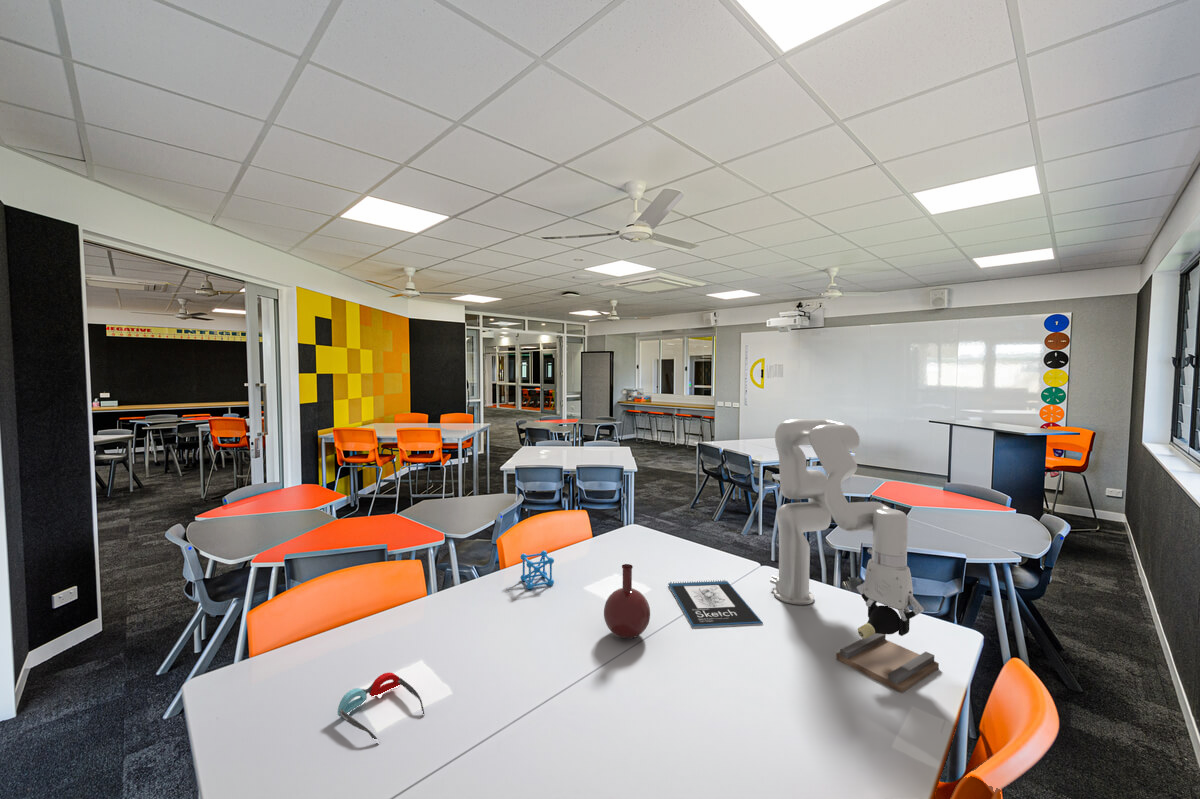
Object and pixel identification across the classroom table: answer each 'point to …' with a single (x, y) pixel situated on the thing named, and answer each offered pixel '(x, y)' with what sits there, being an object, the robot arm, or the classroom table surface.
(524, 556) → the molecular structure
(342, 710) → the novelty glasses
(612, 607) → the round-bottom flask
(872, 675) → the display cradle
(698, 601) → the sketchbook
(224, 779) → the classroom table surface
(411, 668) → the classroom table surface
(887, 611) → the light bulb
